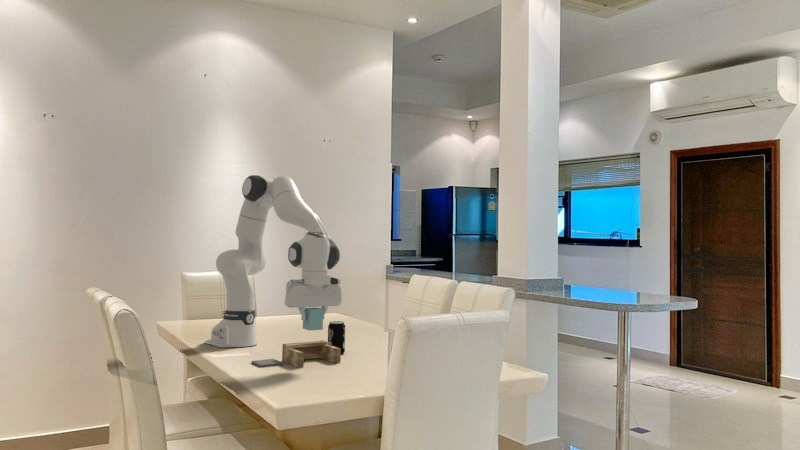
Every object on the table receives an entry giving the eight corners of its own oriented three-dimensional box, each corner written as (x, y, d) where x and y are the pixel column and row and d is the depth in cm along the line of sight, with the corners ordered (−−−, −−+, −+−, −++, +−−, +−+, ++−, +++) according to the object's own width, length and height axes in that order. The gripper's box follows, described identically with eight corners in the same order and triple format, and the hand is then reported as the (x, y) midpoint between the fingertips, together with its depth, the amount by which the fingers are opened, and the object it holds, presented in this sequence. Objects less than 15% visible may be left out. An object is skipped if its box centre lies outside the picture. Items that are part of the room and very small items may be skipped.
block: (302, 328, 200) (303, 307, 200) (315, 327, 203) (316, 307, 203) (309, 330, 196) (310, 309, 196) (322, 329, 199) (323, 309, 199)
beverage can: (341, 355, 220) (342, 323, 221) (325, 354, 222) (325, 322, 222) (346, 352, 227) (347, 321, 227) (330, 351, 228) (331, 320, 229)
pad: (251, 363, 204) (251, 360, 204) (273, 360, 208) (273, 358, 208) (260, 367, 197) (260, 365, 197) (282, 364, 202) (282, 362, 202)
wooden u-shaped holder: (282, 360, 208) (282, 344, 209) (321, 356, 218) (322, 340, 218) (299, 367, 198) (299, 349, 198) (340, 362, 207) (340, 345, 207)
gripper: (290, 280, 191) (289, 322, 191) (344, 279, 204) (342, 319, 203) (282, 278, 197) (280, 320, 196) (335, 278, 209) (333, 317, 208)
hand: (312, 319), depth 200 cm, fingers closed on block, 5 cm apart
